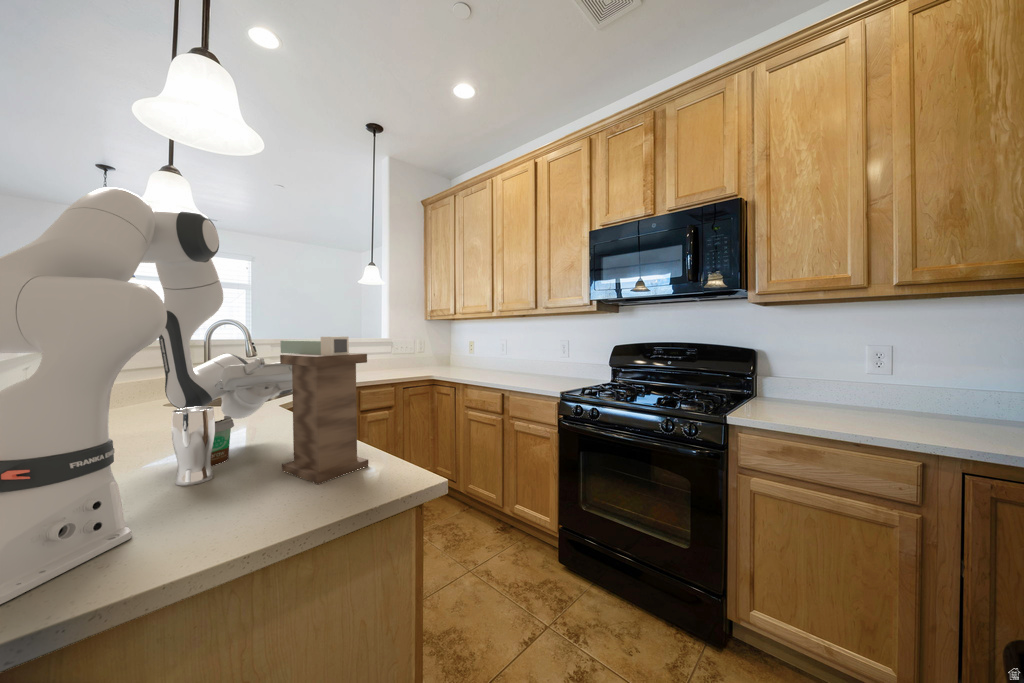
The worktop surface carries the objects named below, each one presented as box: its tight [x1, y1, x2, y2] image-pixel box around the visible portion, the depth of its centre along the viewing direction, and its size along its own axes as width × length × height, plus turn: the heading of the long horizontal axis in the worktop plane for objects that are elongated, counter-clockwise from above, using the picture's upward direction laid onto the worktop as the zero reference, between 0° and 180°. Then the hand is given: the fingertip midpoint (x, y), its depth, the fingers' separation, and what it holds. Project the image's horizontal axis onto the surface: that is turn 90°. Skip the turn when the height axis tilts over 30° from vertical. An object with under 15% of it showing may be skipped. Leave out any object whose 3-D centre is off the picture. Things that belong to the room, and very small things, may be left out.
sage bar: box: [280, 336, 350, 356], centre depth 87 cm, size 22×4×4 cm, turn 58°
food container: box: [211, 415, 235, 467], centre depth 89 cm, size 12×6×10 cm, turn 168°
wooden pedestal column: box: [279, 352, 369, 485], centre depth 85 cm, size 14×12×26 cm
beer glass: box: [170, 405, 216, 487], centre depth 78 cm, size 7×7×15 cm
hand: (281, 359), depth 94 cm, fingers open, 8 cm apart
